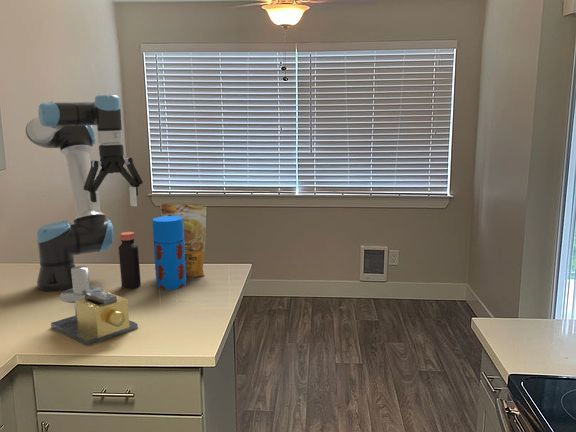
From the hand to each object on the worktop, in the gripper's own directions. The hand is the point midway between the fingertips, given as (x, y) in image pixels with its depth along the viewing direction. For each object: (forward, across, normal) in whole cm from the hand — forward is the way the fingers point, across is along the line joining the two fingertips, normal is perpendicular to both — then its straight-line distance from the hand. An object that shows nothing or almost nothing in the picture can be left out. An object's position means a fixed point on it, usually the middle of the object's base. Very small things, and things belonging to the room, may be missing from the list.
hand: (116, 209), depth 181 cm
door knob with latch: (+32, -19, -15) cm, 40 cm away
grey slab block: (+30, -19, -20) cm, 40 cm away
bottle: (+32, +11, +12) cm, 36 cm away
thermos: (+32, +21, +1) cm, 38 cm away
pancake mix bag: (+32, +33, +8) cm, 47 cm away
